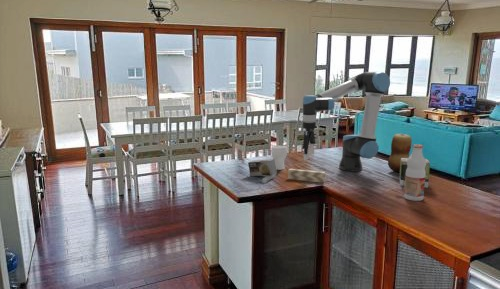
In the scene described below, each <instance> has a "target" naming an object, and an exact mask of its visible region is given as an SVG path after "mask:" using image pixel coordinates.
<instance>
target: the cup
mask: <svg viewBox="0 0 500 289" xmlns="http://www.w3.org/2000/svg"><path fill="white" fill-rule="evenodd" d="M270 152H271V154H270V155H271V157H272V159H275V165H276V171H278V170H279V171H280V170H285V168H286V167H285V159H286V157H287V155H288V148H287V146H286V145H279V144H278V145H273V146H271V150H270Z"/></svg>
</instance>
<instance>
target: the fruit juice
mask: <svg viewBox="0 0 500 289" xmlns="http://www.w3.org/2000/svg"><path fill="white" fill-rule="evenodd" d="M411 148H412V152H411V154H410V155H409V158H408V159H407V169H406V174H405V186H403V187H404V190H403V197H404V198H405V200H409V201H415V202H419V201H423V200H424V195H425V187H424V186H425V175H426V172H425V166H426V160H425V159H426V158H425V157H424V154H423V149H424V145H423V144H417V143H415V144H413V145H411Z"/></svg>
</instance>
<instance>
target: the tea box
mask: <svg viewBox="0 0 500 289" xmlns="http://www.w3.org/2000/svg"><path fill="white" fill-rule="evenodd" d="M407 159H408V158H401V163H400V172H399V185H400V186H401V187H402V186H403V187H405V174H406V169H407ZM425 160H426V166H425V172H426V175H425V186H424V188H427V189H428V188H429V184H430V183H429V181H430V167H431V166H430V165H431V163H430V161H429V159H427V158H425Z"/></svg>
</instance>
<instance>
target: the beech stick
mask: <svg viewBox="0 0 500 289" xmlns="http://www.w3.org/2000/svg"><path fill="white" fill-rule="evenodd" d="M287 173H288V174H287V176H288V177H287V178H288V180H295V181H307V182H312V183H313V182H315V183H316V182H317V183H322V184H323V183H324V184H325V182H326V171H320V170H308V169H298V168H296V169H295V168H288V172H287Z"/></svg>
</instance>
